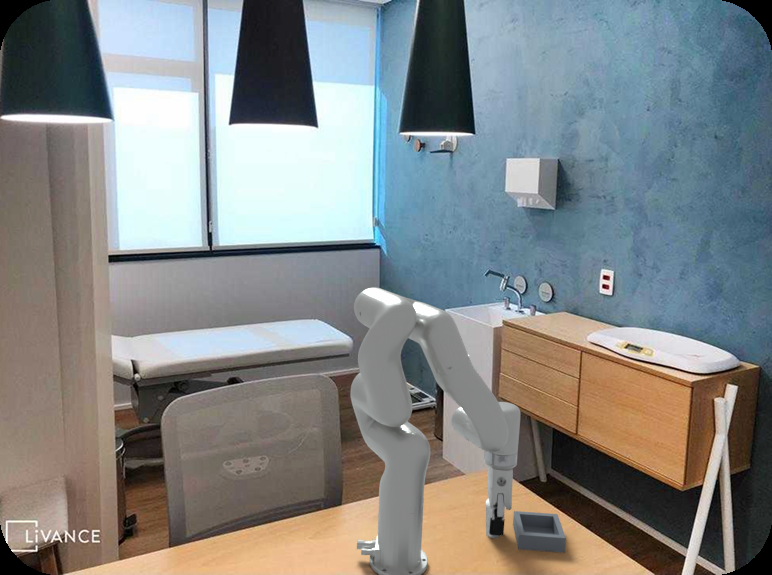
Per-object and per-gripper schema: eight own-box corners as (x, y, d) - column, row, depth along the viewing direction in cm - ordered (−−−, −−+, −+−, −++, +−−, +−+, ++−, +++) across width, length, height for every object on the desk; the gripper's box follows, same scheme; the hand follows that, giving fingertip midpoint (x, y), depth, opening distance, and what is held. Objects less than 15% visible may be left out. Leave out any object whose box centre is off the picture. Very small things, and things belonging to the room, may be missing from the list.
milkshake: (507, 540, 153) (510, 501, 151) (484, 539, 153) (487, 500, 151) (504, 530, 157) (507, 491, 155) (482, 529, 157) (485, 490, 155)
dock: (518, 549, 149) (519, 534, 149) (512, 524, 160) (513, 511, 159) (564, 552, 149) (565, 538, 148) (556, 527, 159) (557, 514, 158)
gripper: (521, 474, 143) (515, 550, 146) (512, 442, 159) (507, 511, 163) (487, 471, 143) (481, 547, 146) (481, 440, 160) (477, 509, 163)
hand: (495, 527), depth 154 cm, fingers open, 4 cm apart
